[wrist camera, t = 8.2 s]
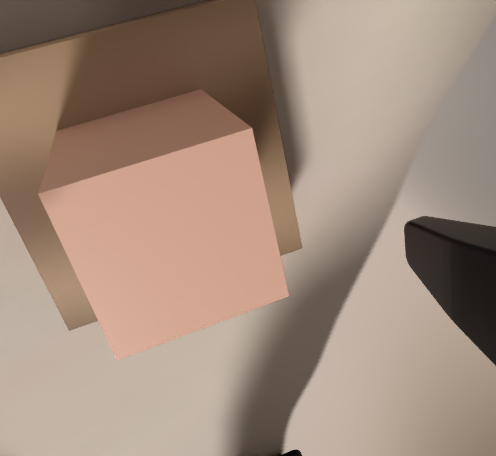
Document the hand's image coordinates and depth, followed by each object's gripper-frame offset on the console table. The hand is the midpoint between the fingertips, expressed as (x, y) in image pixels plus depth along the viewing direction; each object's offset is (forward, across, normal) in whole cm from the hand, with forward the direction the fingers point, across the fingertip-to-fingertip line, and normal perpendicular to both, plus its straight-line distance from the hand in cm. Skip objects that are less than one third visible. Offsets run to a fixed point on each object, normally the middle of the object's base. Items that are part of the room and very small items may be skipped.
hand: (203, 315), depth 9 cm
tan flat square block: (+12, 0, 0) cm, 12 cm away
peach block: (+9, 0, 0) cm, 9 cm away
